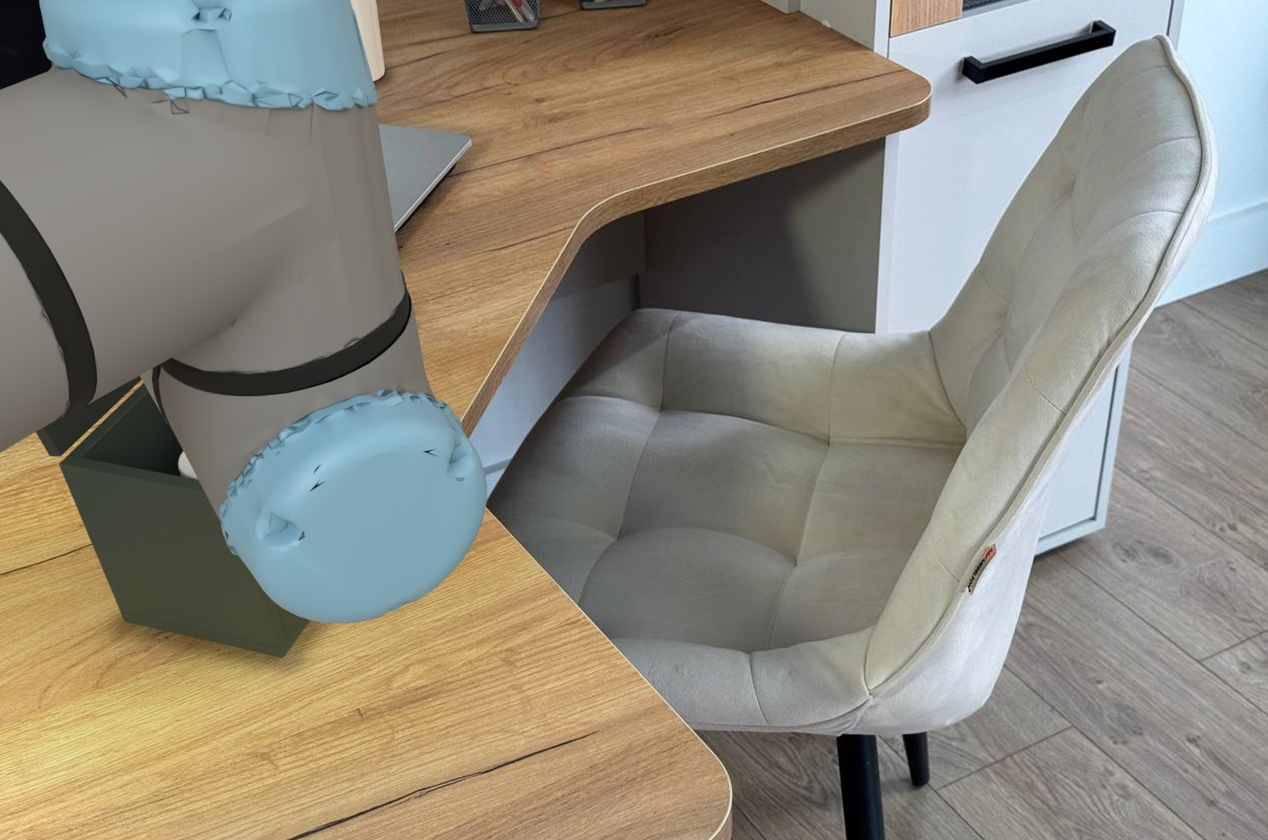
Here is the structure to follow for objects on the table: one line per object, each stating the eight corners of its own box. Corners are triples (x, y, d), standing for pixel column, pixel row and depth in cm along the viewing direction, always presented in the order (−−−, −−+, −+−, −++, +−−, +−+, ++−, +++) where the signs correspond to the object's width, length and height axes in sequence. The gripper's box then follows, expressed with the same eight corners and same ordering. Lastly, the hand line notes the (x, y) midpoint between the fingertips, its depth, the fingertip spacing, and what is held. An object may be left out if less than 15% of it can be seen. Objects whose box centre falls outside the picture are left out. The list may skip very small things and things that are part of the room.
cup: (314, 70, 141) (285, -65, 132) (389, 58, 143) (366, -76, 134) (320, 98, 135) (290, -41, 126) (398, 86, 136) (374, -53, 128)
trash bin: (367, 538, 80) (329, 382, 73) (283, 658, 73) (231, 497, 66) (219, 509, 83) (169, 357, 76) (123, 621, 76) (57, 463, 69)
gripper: (-96, 514, 46) (-158, 264, 61) (531, 289, 56) (346, 121, 70) (-189, 336, 41) (-232, 113, 56) (511, 125, 51) (318, -19, 66)
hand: (89, 117), depth 63 cm, fingers open, 13 cm apart
